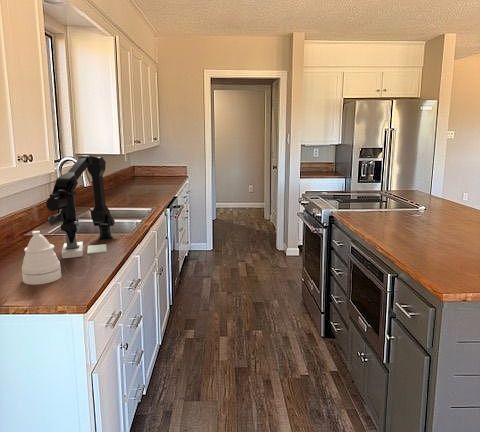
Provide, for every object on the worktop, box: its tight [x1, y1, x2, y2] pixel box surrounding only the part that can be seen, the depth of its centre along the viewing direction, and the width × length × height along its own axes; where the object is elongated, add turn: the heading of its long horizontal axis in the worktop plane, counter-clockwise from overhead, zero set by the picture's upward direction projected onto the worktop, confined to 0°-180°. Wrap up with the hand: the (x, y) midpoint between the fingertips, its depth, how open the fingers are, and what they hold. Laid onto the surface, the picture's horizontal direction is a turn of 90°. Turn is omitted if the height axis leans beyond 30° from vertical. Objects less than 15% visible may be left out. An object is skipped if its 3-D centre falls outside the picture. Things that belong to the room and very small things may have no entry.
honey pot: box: [21, 230, 62, 286], centre depth 159 cm, size 13×13×18 cm
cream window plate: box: [61, 241, 84, 259], centre depth 193 cm, size 16×8×2 cm, turn 18°
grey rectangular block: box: [65, 232, 78, 250], centre depth 191 cm, size 4×4×8 cm
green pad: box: [86, 243, 107, 255], centre depth 197 cm, size 12×8×1 cm, turn 18°
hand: (71, 242), depth 191 cm, fingers closed on grey rectangular block, 4 cm apart
